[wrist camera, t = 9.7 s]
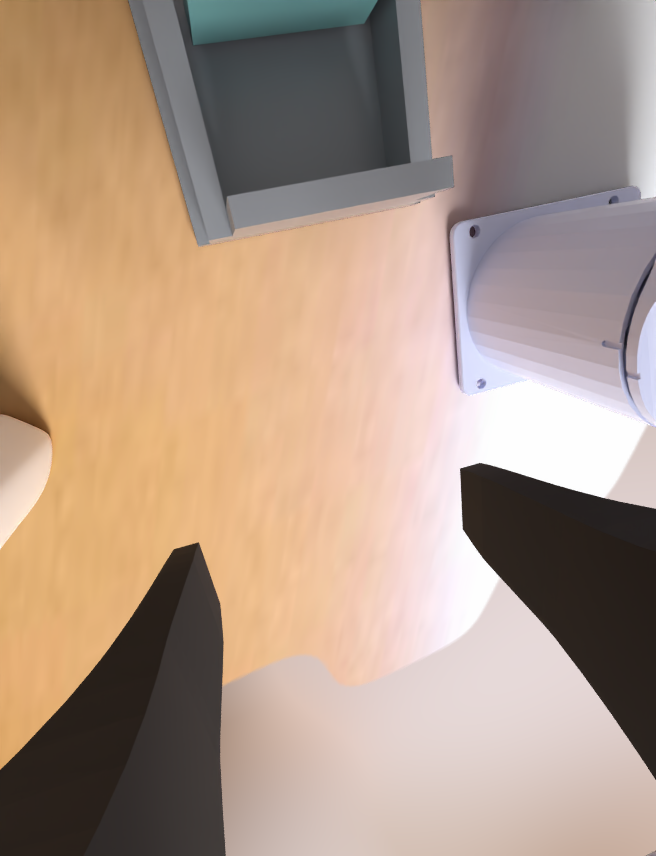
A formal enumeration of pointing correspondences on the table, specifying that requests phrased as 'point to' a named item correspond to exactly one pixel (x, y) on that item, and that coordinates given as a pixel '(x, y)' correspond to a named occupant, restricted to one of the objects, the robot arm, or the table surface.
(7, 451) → the eye dropper bottle
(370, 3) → the block
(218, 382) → the table surface
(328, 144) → the lane
